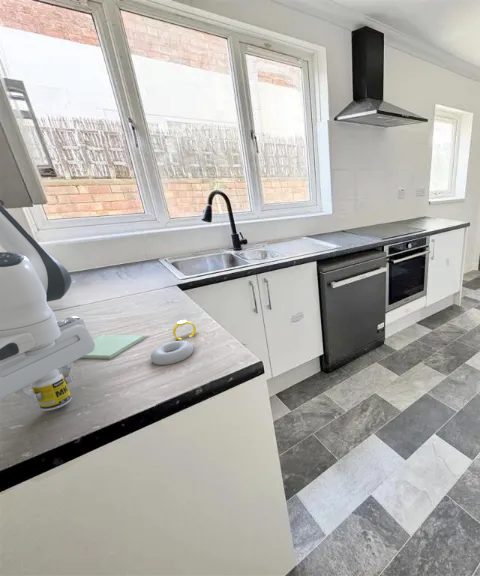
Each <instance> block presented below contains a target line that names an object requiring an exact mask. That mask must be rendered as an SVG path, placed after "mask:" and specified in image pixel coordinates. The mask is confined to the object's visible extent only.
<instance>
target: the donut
mask: <svg viewBox="0 0 480 576" xmlns="http://www.w3.org/2000/svg"><path fill="white" fill-rule="evenodd" d="M193 351H194V346H193V344H192V343H191V342H190V341H187V340H173V341H169V342H166V343H163V344H161V345H159V346H157V347H156V348H155V349H153V350H152V352H151V354H150V360H151V362H152V363H153V364H154V365H158V366H167V365H174V364H176V363H180V362H182V361H184V360H185V359H187V358H189V357H190V356H191V355H192V353H193Z"/></svg>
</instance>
